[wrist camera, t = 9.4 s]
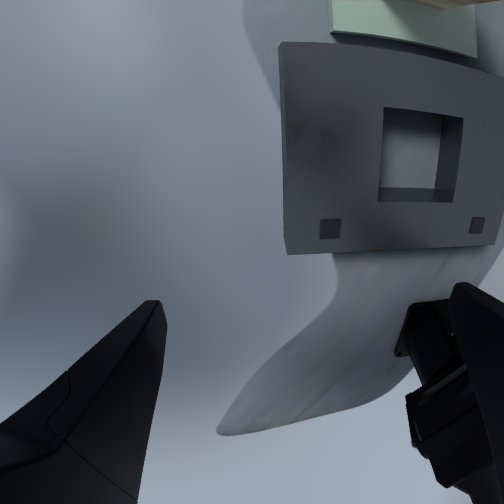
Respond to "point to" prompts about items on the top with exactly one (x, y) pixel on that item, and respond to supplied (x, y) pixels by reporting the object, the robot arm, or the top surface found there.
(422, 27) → the pad
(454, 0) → the peg
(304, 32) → the top surface
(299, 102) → the plate
